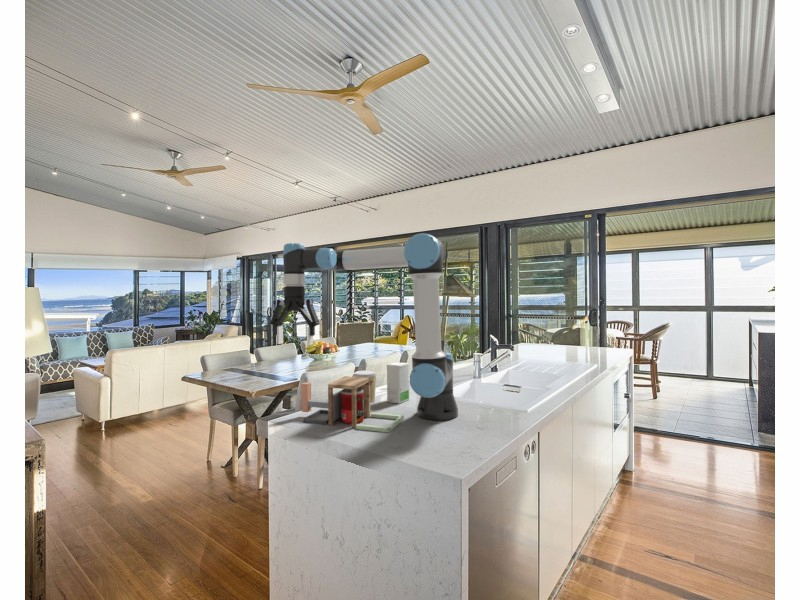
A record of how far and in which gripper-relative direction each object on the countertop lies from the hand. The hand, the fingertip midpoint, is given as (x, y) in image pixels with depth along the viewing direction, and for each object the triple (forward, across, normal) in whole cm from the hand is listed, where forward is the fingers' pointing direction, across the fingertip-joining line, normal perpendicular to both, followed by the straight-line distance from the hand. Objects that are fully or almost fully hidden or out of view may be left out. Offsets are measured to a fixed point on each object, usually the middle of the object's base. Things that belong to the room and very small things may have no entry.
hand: (295, 344), depth 154 cm
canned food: (+27, -23, 0) cm, 35 cm away
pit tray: (+26, -11, 0) cm, 29 cm away
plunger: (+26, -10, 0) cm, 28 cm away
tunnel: (+26, -22, 0) cm, 34 cm away
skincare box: (+27, -30, -30) cm, 50 cm away
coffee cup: (+27, -17, -26) cm, 41 cm away
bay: (+26, -33, 0) cm, 42 cm away
